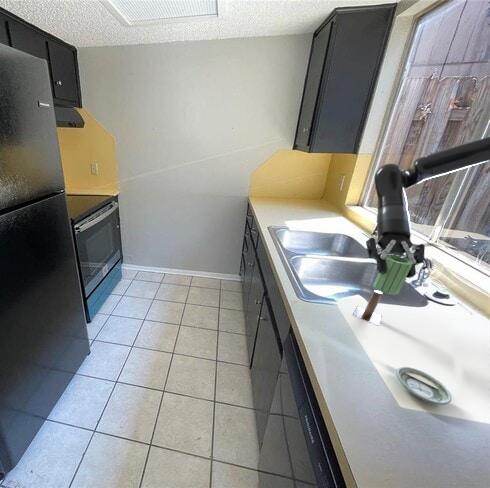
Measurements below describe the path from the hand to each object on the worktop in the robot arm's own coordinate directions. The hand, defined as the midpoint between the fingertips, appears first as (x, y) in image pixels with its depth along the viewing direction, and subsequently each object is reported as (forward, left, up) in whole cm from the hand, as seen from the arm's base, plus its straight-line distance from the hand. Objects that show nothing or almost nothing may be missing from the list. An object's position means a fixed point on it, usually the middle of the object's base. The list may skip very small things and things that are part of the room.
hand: (396, 274), depth 74 cm
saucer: (-12, +19, -19) cm, 30 cm away
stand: (+2, -3, -19) cm, 20 cm away
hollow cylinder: (+1, -2, -6) cm, 6 cm away
